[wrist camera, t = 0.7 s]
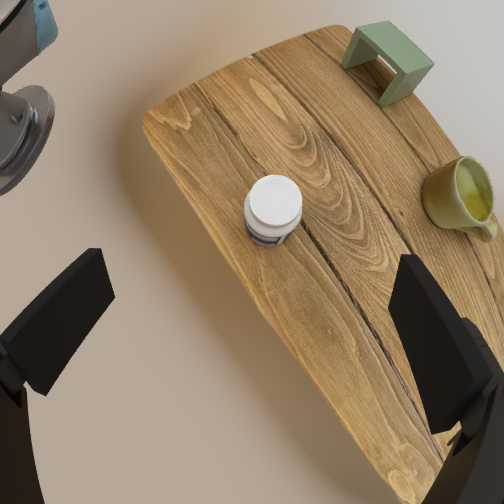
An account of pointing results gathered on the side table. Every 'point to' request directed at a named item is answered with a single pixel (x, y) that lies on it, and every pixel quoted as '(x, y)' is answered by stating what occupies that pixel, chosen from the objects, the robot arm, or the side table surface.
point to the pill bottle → (272, 210)
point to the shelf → (389, 57)
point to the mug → (461, 198)
